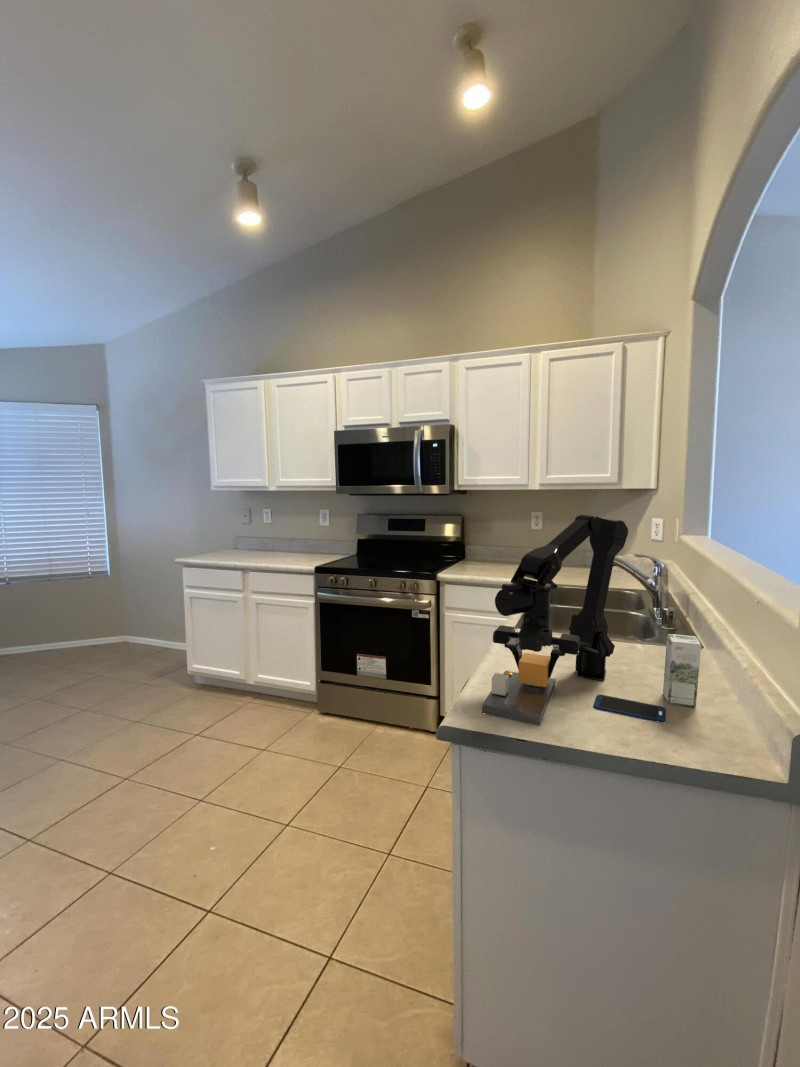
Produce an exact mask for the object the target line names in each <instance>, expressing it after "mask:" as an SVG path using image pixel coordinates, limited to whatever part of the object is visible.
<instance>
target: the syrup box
mask: <svg viewBox="0 0 800 1067" xmlns="http://www.w3.org/2000/svg"><path fill="white" fill-rule="evenodd" d="M701 653H702V645H701V643H700V641H699V639H698V638H697V637H696V636H694V635H686V634H685V635H684V634H672V633H667V634H666V646H665V662H664V674H663V689H662V692H663V696H664V697H665V698H664V699H665V700H666V703H667V704H670V703H671V705H677V704H680V705H679V706H684V705H688V706H687V707H692V706H696V707H697V701H698V700H697V698H698V688H699V687H698V686H699V676H700V666H701V665H700V664H701V663H700V662H701Z"/></svg>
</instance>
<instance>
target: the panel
mask: <svg viewBox="0 0 800 1067" xmlns="http://www.w3.org/2000/svg"><path fill="white" fill-rule="evenodd" d="M518 673H519V672H515V671H509V670H505V671H504V672H503V673H502V674H504V675H509V682H508V692H507V693H506V695H505V696H504V695H499V694H494V693H491V692H492V690H491V691H490V692H489V693H488V695H487V697H486V698H485V699H484V701H483V702H482V703H481V714H483V713H485V714H484V715H488V714H489V715H488V716H492V715H493V717H497V716H498V718H502V719H507V720H511V721H517V722H521V723H526V724H531V725H535V726H541V723H542V721H543V719H544V717H545V715H546V711H547V709H548V707H549V704H550V702H551V700H552V696H553V694H554V692H555V689H556V678H551V677H550V679H549V682H548V684H547V686H546V687H543V686H540V687H539V686H533V685H528V684H527V683H521V682H518Z"/></svg>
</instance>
